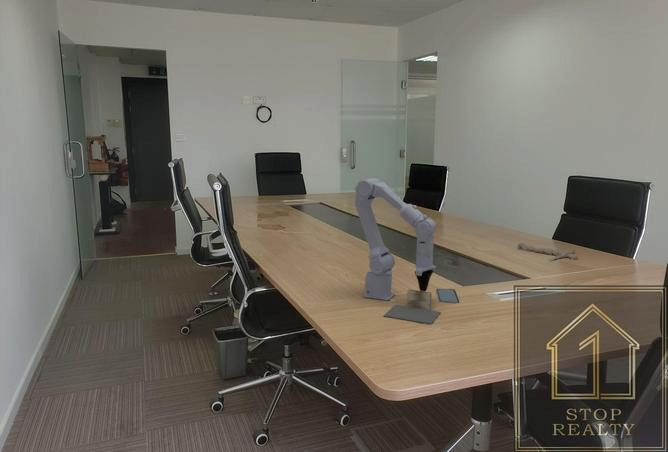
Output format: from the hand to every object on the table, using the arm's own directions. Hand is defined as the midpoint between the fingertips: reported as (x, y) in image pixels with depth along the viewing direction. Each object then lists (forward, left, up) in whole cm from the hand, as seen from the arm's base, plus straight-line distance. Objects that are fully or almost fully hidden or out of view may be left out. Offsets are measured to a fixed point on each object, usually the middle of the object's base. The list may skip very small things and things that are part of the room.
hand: (423, 290), depth 176 cm
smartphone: (+6, +12, -6) cm, 15 cm away
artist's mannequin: (+36, +103, -6) cm, 110 cm away
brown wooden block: (0, -5, -5) cm, 7 cm away
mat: (0, -12, -5) cm, 13 cm away
